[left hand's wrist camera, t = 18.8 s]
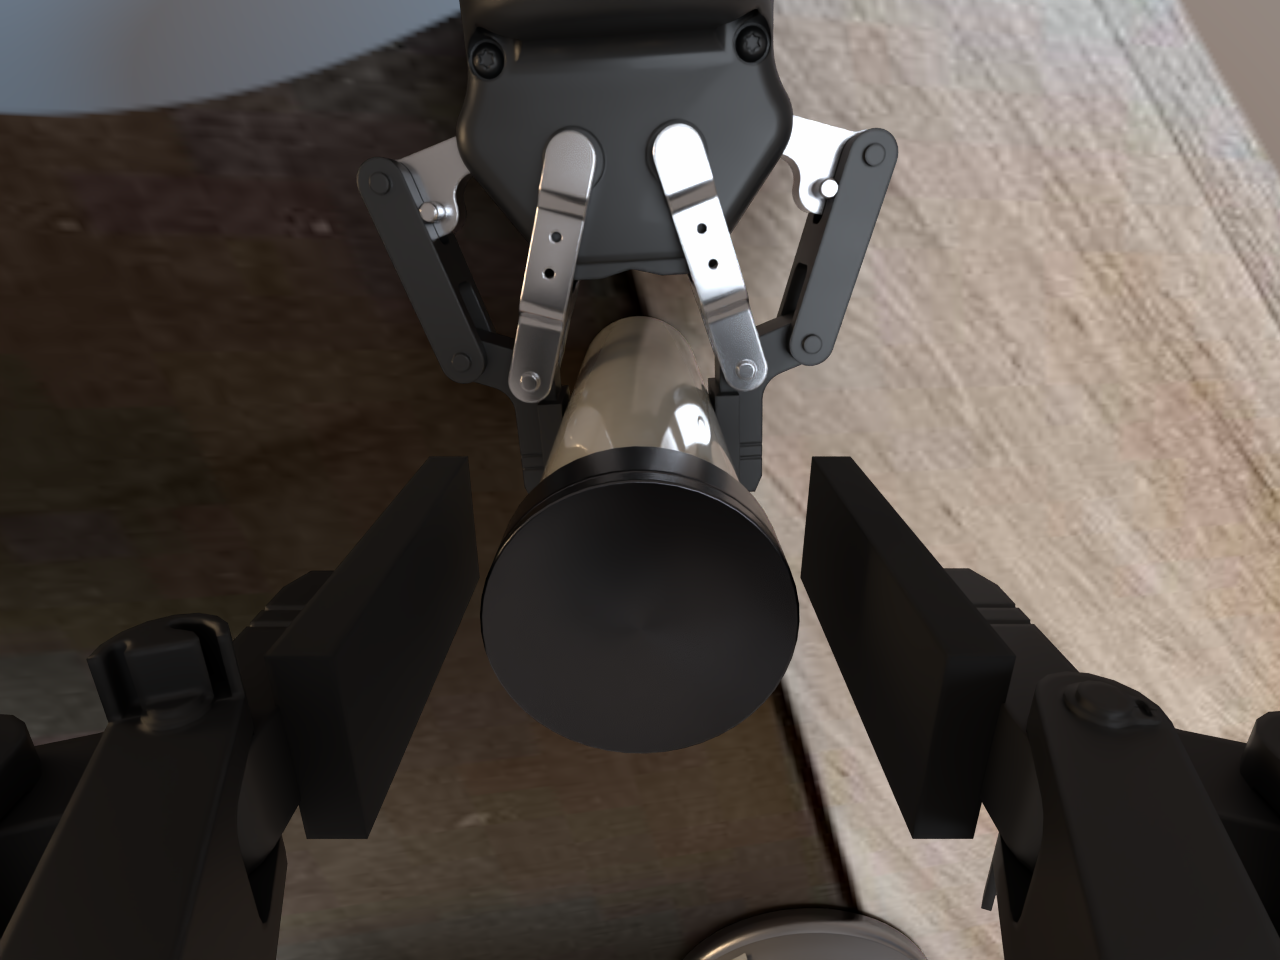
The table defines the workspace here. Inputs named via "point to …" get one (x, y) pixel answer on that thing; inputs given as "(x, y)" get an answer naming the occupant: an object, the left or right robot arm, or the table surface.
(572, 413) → the beige cylinder
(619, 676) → the lid
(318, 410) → the table surface
